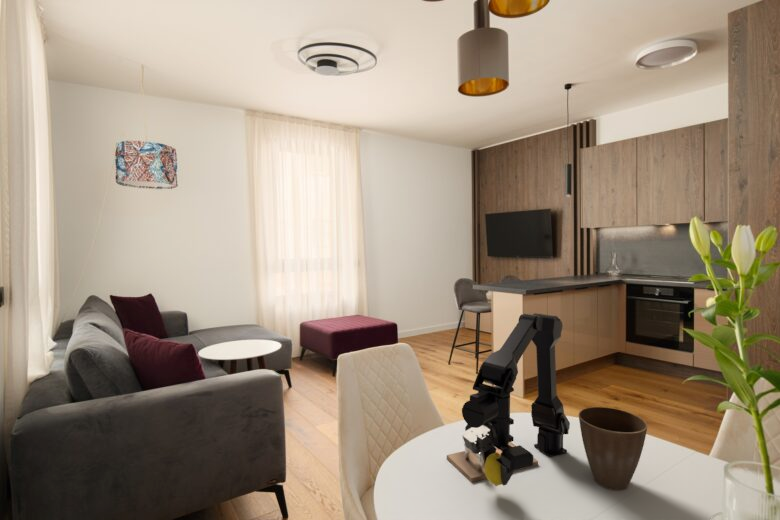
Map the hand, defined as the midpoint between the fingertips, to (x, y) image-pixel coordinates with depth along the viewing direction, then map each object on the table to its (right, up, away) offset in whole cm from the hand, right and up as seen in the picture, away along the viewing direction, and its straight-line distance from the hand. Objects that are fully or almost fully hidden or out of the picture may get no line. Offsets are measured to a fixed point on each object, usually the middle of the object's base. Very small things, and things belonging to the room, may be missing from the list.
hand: (496, 478), depth 99 cm
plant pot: (+29, -4, +5) cm, 30 cm away
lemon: (0, -2, 0) cm, 2 cm away
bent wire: (-1, -3, +12) cm, 12 cm away
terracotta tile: (+7, -3, +18) cm, 19 cm away
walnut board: (+2, -3, +14) cm, 15 cm away
